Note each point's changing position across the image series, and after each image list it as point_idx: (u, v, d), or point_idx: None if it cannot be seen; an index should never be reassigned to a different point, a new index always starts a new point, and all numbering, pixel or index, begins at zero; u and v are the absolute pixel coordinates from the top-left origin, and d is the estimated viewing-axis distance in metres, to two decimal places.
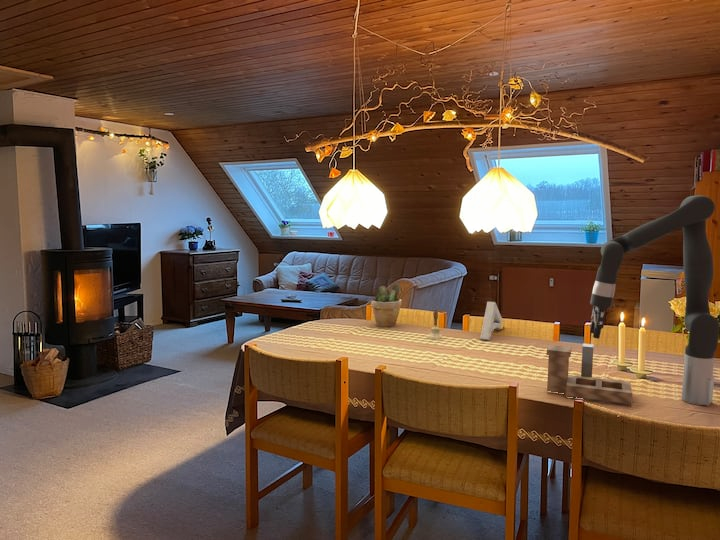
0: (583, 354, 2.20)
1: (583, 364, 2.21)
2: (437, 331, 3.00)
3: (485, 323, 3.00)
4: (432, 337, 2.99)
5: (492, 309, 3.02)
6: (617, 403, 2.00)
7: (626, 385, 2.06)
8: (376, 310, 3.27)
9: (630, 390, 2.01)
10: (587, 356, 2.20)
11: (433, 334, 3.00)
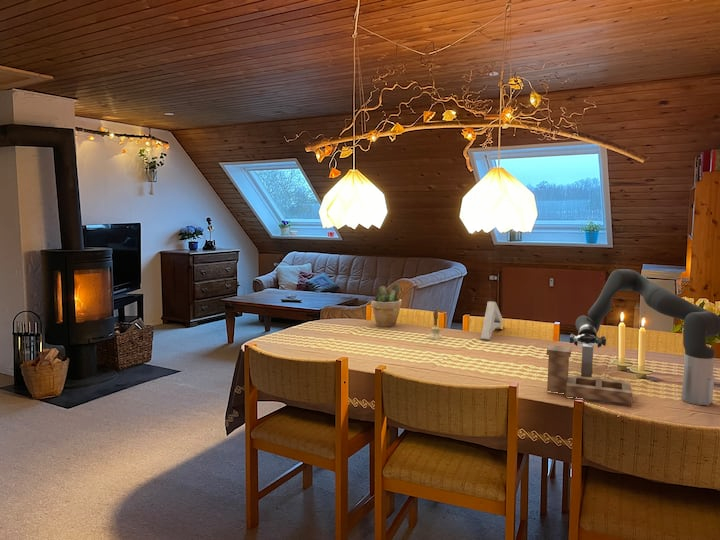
0: (583, 354, 2.20)
1: (583, 364, 2.21)
2: (437, 331, 3.00)
3: (486, 323, 3.00)
4: (432, 337, 2.99)
5: (493, 309, 3.03)
6: (617, 403, 2.00)
7: (626, 385, 2.06)
8: (376, 310, 3.27)
9: (630, 390, 2.01)
10: (587, 356, 2.20)
11: (433, 334, 3.00)
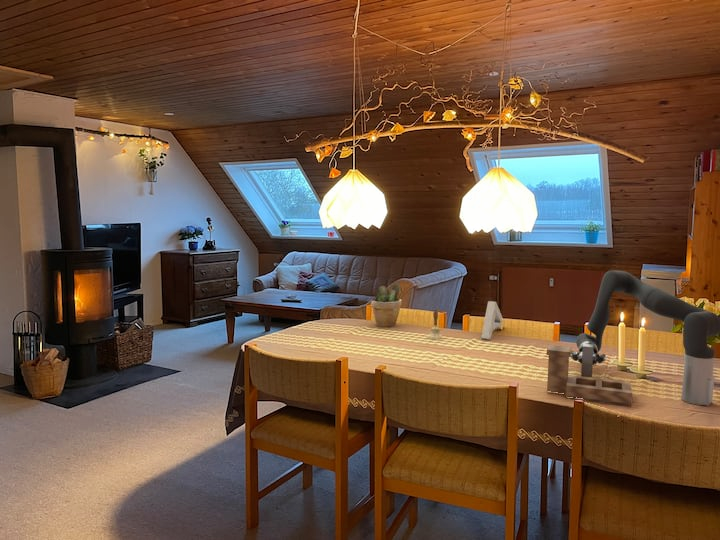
0: (583, 354, 2.20)
1: (583, 364, 2.21)
2: (437, 331, 3.00)
3: (486, 322, 3.01)
4: (432, 337, 2.99)
5: (493, 309, 3.03)
6: (617, 403, 2.00)
7: (626, 385, 2.06)
8: (376, 310, 3.27)
9: (630, 390, 2.01)
10: (587, 356, 2.20)
11: (433, 334, 3.00)
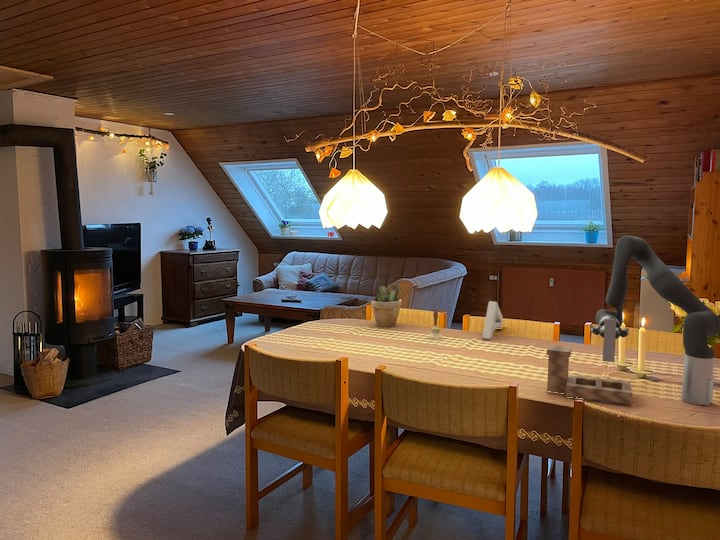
0: (605, 327, 2.06)
1: (605, 338, 2.06)
2: (437, 331, 3.00)
3: (487, 322, 3.01)
4: (432, 337, 2.99)
5: (494, 309, 3.04)
6: (617, 403, 2.00)
7: (626, 385, 2.06)
8: (376, 310, 3.27)
9: (630, 390, 2.01)
10: (609, 329, 2.05)
11: (433, 334, 3.00)
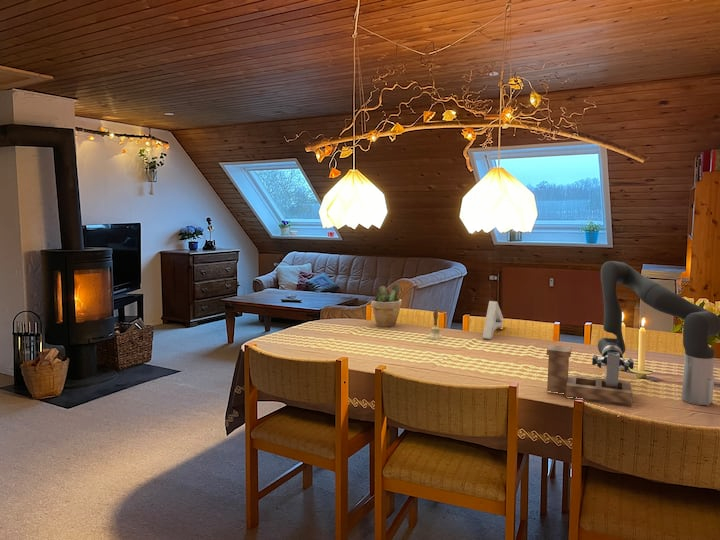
0: (608, 363, 2.04)
1: (608, 374, 2.04)
2: (437, 331, 3.00)
3: (487, 322, 3.01)
4: (432, 337, 2.99)
5: (494, 308, 3.04)
6: (617, 403, 2.00)
7: (626, 385, 2.06)
8: (376, 310, 3.27)
9: (630, 390, 2.01)
10: (612, 365, 2.04)
11: (433, 334, 3.00)
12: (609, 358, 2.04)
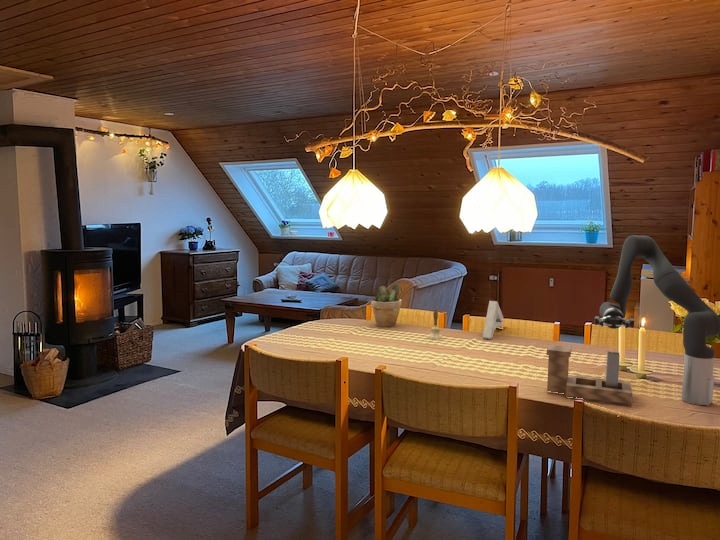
0: (608, 363, 2.04)
1: (608, 374, 2.04)
2: (437, 331, 3.00)
3: (487, 322, 3.02)
4: (432, 337, 2.99)
5: (494, 308, 3.05)
6: (617, 403, 2.00)
7: (626, 385, 2.06)
8: (376, 310, 3.27)
9: (630, 390, 2.01)
10: (612, 365, 2.04)
11: (433, 334, 3.00)
12: (609, 358, 2.04)
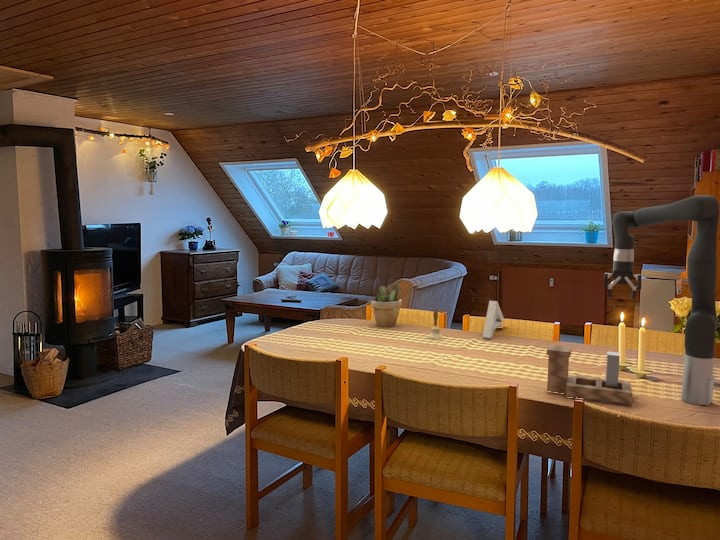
0: (608, 363, 2.04)
1: (608, 374, 2.04)
2: (437, 331, 3.00)
3: (487, 322, 3.02)
4: (432, 337, 2.99)
5: (494, 308, 3.05)
6: (617, 403, 2.00)
7: (626, 385, 2.06)
8: (376, 310, 3.27)
9: (630, 390, 2.01)
10: (612, 365, 2.04)
11: (433, 334, 3.00)
12: (609, 358, 2.04)
